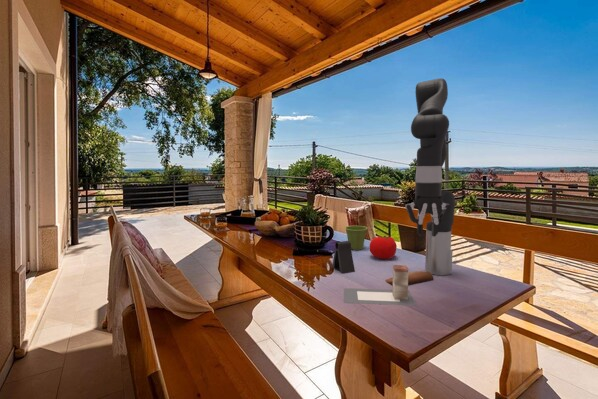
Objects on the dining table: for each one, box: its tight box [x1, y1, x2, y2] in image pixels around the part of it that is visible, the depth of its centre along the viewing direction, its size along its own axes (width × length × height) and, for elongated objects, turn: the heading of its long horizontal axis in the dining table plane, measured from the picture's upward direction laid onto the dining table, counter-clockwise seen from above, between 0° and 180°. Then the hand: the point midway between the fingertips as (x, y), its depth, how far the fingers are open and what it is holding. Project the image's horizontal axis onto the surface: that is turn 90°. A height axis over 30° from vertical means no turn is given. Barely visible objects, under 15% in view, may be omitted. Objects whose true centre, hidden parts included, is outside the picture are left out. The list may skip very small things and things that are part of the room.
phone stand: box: [331, 240, 356, 274], centre depth 133 cm, size 9×6×12 cm, turn 21°
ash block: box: [392, 264, 409, 300], centre depth 102 cm, size 4×4×10 cm
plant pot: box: [344, 225, 368, 251], centre depth 166 cm, size 12×12×11 cm
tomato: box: [368, 235, 398, 260], centre depth 149 cm, size 13×12×11 cm
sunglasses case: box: [384, 270, 434, 287], centre depth 117 cm, size 18×7×7 cm
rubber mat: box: [343, 287, 418, 307], centre depth 103 cm, size 22×12×1 cm, turn 82°
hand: (427, 235), depth 99 cm, fingers open, 3 cm apart
